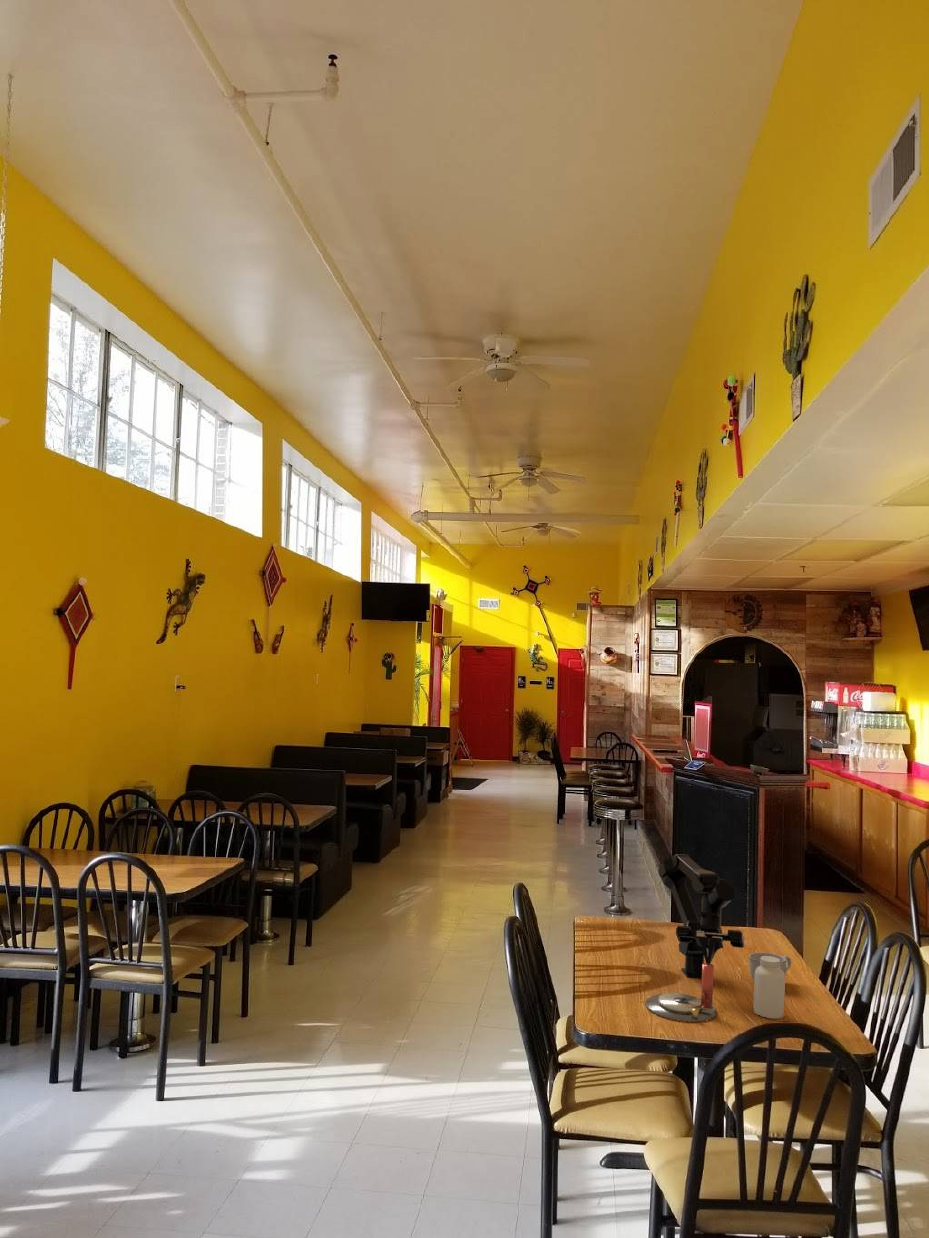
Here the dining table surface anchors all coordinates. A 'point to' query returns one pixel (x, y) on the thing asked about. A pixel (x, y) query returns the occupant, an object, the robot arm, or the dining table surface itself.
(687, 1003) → the flange
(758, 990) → the pill bottle
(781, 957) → the teacup
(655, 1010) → the post plate
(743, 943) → the robot arm
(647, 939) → the dining table surface
